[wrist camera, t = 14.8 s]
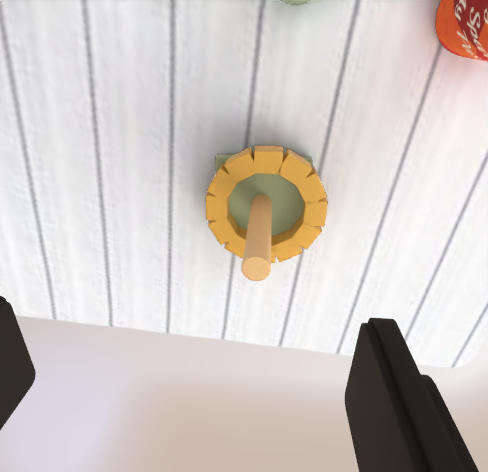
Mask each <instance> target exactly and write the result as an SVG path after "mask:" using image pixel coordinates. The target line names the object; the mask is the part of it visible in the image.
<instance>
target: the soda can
mask: <svg viewBox="0 0 488 472" xmlns="http://www.w3.org/2000/svg"><path fill="white" fill-rule="evenodd" d="M281 1H282V2H284V3H287V4H292V5H298V4H303V3H306V2H308V1H310V0H281Z"/></svg>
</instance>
